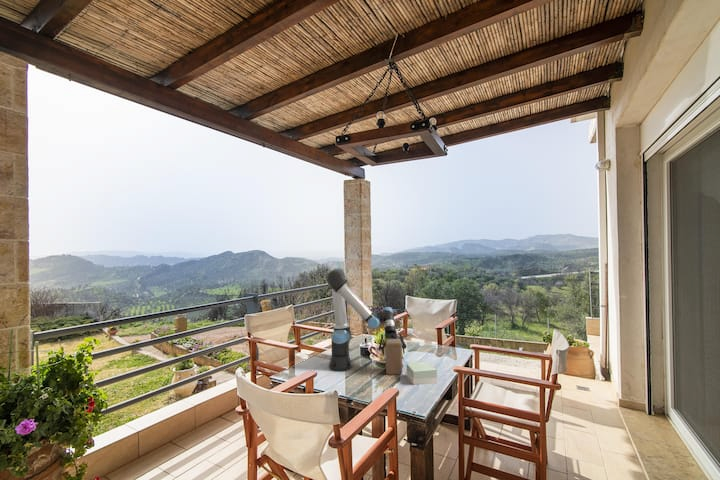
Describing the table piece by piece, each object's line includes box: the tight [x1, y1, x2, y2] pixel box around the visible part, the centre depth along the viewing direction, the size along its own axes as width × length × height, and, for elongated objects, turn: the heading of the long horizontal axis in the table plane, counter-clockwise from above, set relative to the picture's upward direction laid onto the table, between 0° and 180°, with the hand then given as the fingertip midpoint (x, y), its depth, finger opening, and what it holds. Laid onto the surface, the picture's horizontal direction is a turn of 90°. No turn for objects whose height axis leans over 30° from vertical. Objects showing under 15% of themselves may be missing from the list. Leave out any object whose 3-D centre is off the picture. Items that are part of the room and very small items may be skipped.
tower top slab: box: [406, 361, 438, 379], centre depth 196 cm, size 14×14×4 cm
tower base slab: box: [405, 369, 438, 386], centre depth 196 cm, size 14×14×4 cm
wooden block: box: [384, 338, 403, 375], centre depth 208 cm, size 10×10×20 cm
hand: (394, 358), depth 206 cm, fingers closed on wooden block, 11 cm apart
